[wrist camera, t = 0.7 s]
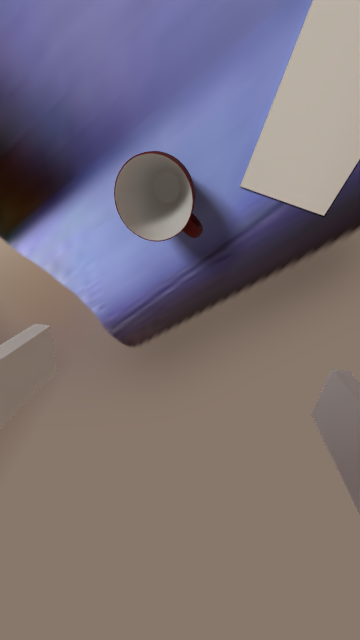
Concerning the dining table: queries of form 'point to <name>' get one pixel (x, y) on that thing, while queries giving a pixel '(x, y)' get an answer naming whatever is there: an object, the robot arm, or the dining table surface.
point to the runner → (313, 113)
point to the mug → (156, 197)
